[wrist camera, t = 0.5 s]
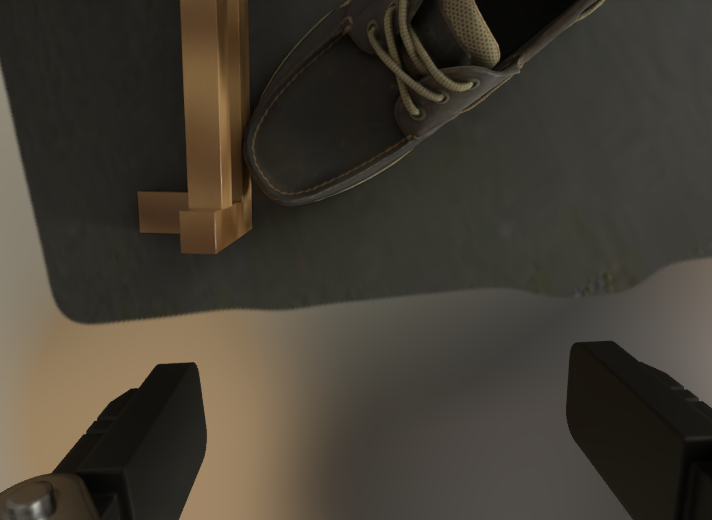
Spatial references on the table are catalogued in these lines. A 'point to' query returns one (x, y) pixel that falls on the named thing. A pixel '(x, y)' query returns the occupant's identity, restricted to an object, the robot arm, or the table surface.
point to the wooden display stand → (210, 132)
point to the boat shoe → (386, 85)
